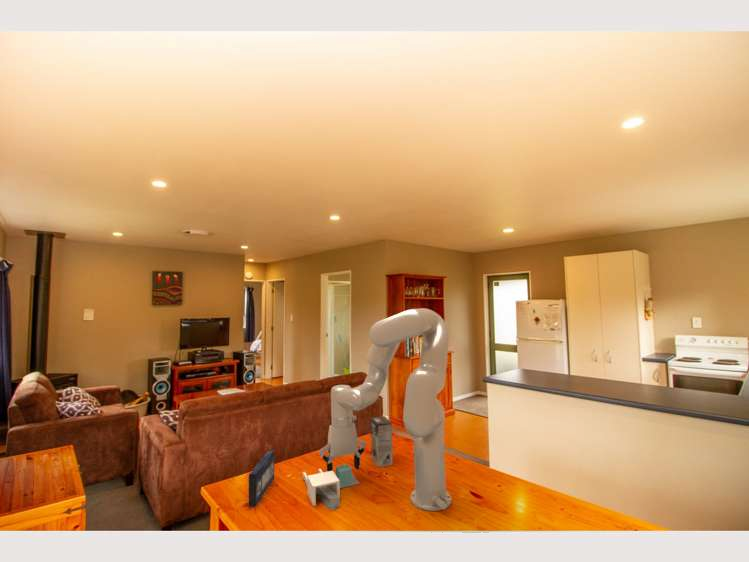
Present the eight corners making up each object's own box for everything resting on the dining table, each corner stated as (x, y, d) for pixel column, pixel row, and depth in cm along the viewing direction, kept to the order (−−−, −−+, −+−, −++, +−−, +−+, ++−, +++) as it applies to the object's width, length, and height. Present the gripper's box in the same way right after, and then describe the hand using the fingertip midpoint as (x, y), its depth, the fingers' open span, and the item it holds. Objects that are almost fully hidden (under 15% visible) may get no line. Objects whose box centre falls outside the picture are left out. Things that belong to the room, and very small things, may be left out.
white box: (339, 499, 115) (339, 480, 115) (313, 506, 111) (313, 486, 112) (323, 473, 133) (323, 457, 133) (300, 478, 130) (300, 461, 130)
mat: (359, 484, 124) (359, 483, 124) (334, 490, 121) (334, 488, 121) (350, 473, 132) (350, 472, 132) (327, 478, 129) (327, 477, 129)
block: (352, 482, 125) (351, 469, 125) (339, 485, 123) (339, 471, 123) (347, 476, 129) (347, 464, 129) (335, 479, 127) (335, 466, 127)
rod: (339, 508, 110) (339, 496, 110) (330, 511, 109) (330, 499, 109) (320, 489, 122) (320, 478, 122) (312, 492, 120) (312, 481, 121)
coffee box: (370, 458, 146) (369, 417, 147) (385, 455, 148) (384, 415, 149) (377, 467, 137) (376, 424, 138) (393, 464, 139) (392, 422, 140)
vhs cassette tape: (256, 507, 112) (256, 474, 112) (246, 507, 112) (246, 474, 112) (275, 479, 130) (275, 450, 131) (267, 479, 130) (267, 450, 131)
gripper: (361, 414, 135) (362, 462, 133) (315, 422, 128) (317, 472, 127) (368, 420, 128) (370, 470, 127) (321, 428, 121) (322, 481, 120)
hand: (343, 471), depth 127 cm, fingers open, 9 cm apart
